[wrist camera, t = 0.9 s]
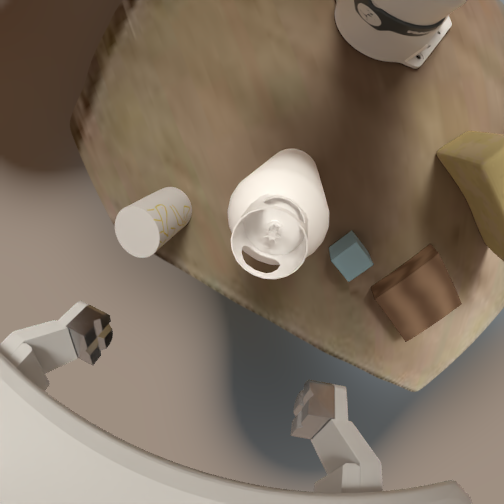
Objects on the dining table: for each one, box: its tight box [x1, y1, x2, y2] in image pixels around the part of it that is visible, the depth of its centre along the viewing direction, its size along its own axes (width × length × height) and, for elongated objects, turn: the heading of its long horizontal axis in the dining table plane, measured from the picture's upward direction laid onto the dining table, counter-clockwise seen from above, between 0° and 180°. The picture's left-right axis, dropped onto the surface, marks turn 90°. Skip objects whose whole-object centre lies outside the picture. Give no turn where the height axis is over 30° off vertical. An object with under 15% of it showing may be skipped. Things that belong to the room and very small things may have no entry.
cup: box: [115, 187, 192, 258], centre depth 43 cm, size 8×8×12 cm
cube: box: [329, 231, 374, 282], centre depth 43 cm, size 5×5×5 cm
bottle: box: [228, 149, 329, 279], centre depth 29 cm, size 8×8×28 cm
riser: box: [371, 244, 462, 342], centre depth 44 cm, size 14×14×4 cm
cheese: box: [437, 131, 504, 261], centre depth 29 cm, size 22×10×15 cm, turn 38°
